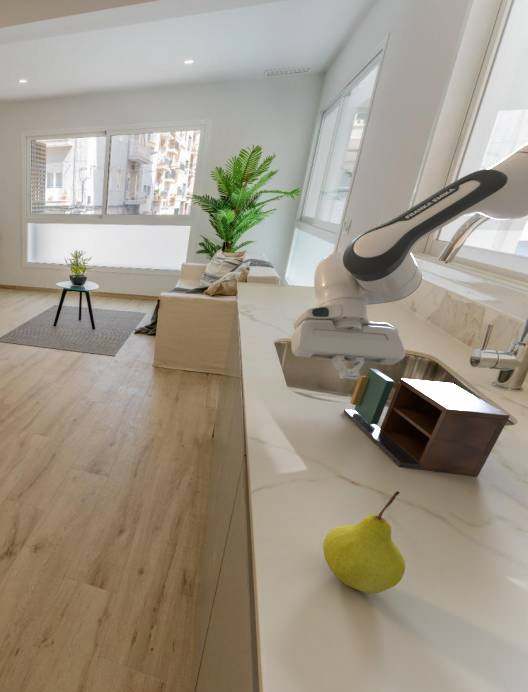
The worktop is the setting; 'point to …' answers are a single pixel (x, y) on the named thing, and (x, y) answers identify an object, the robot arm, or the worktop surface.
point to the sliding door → (372, 395)
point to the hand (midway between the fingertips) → (349, 378)
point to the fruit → (365, 554)
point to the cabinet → (436, 428)
